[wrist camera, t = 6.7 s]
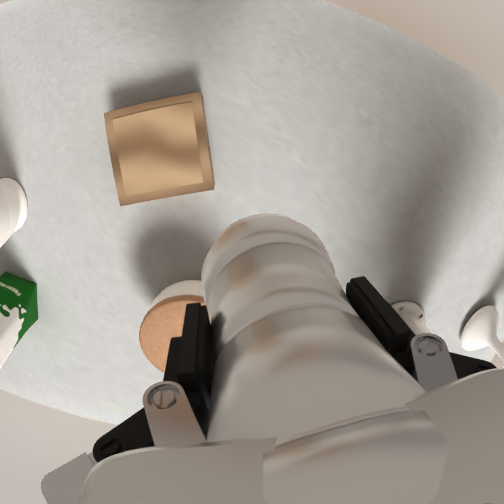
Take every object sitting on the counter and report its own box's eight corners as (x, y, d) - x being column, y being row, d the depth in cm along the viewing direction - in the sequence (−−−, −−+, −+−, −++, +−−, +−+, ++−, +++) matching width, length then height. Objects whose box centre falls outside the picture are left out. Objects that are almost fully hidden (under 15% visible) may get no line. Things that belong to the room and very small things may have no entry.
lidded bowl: (236, 261, 41) (241, 305, 31) (241, 336, 46) (247, 388, 36) (144, 268, 40) (123, 312, 30) (161, 341, 45) (150, 392, 35)
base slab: (214, 183, 37) (213, 189, 33) (129, 198, 37) (120, 206, 33) (202, 95, 33) (200, 91, 29) (115, 114, 32) (103, 113, 28)
